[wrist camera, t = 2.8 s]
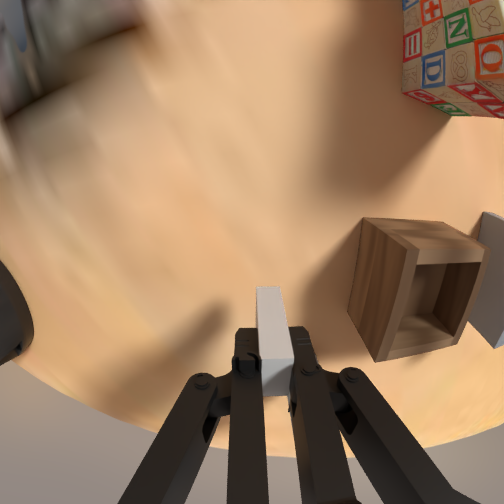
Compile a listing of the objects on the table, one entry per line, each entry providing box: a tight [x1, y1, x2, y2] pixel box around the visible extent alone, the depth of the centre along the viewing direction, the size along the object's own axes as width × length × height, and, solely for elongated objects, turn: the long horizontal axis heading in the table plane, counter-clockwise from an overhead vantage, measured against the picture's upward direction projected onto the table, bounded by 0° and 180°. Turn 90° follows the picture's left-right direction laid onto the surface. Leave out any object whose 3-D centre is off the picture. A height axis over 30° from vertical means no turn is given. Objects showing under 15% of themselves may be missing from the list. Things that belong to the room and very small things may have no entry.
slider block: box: [347, 218, 491, 363], centre depth 19 cm, size 9×9×7 cm
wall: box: [468, 212, 504, 349], centre depth 19 cm, size 2×12×8 cm, turn 0°
